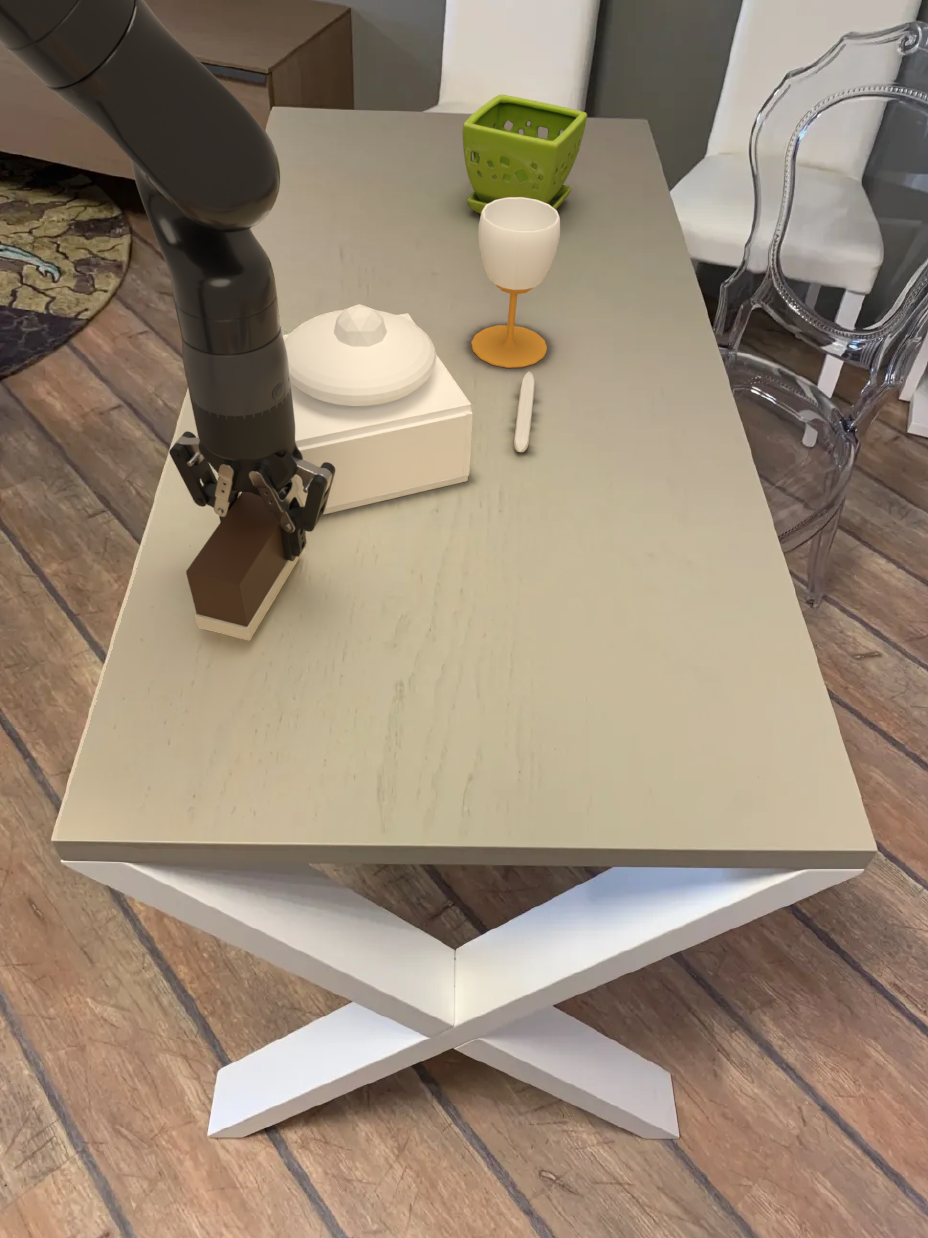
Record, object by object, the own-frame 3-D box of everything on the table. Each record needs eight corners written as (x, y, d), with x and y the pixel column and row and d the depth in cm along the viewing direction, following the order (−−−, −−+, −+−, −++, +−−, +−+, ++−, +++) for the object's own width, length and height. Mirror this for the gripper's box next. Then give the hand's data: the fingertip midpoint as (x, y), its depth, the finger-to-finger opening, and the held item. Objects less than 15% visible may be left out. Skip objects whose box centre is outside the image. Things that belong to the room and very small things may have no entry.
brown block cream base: (257, 535, 87) (248, 480, 82) (306, 546, 86) (299, 492, 81) (197, 627, 79) (183, 572, 74) (249, 641, 78) (239, 586, 73)
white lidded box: (300, 520, 90) (284, 378, 79) (254, 414, 101) (233, 276, 90) (469, 481, 95) (477, 341, 84) (408, 384, 106) (407, 249, 95)
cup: (547, 329, 115) (563, 198, 103) (546, 371, 109) (562, 237, 97) (474, 323, 116) (481, 192, 104) (468, 364, 110) (475, 230, 98)
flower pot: (546, 240, 131) (557, 144, 122) (455, 217, 134) (458, 123, 125) (579, 200, 140) (591, 109, 131) (492, 181, 143) (498, 90, 134)
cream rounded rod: (535, 381, 108) (536, 369, 107) (527, 457, 98) (528, 444, 97) (521, 380, 108) (522, 367, 107) (512, 455, 99) (513, 442, 97)
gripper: (347, 374, 72) (357, 538, 85) (176, 339, 74) (211, 503, 87) (308, 431, 67) (325, 595, 80) (127, 391, 69) (171, 557, 82)
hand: (265, 547), depth 83 cm, fingers closed on brown block cream base, 4 cm apart
